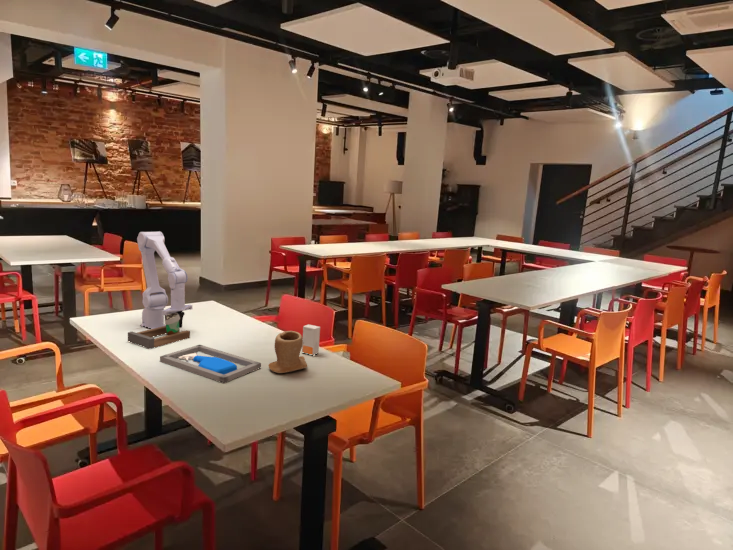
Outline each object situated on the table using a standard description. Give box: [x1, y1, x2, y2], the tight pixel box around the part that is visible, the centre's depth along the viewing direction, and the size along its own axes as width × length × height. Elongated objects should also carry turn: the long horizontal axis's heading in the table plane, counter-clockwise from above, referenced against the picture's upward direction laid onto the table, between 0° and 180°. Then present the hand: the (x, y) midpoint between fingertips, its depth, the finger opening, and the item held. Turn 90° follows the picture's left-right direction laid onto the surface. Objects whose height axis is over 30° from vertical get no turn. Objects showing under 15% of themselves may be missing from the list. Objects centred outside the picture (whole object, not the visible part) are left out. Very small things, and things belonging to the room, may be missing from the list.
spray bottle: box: [177, 352, 238, 375], centre depth 183 cm, size 3×11×24 cm
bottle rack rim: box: [159, 344, 262, 384], centre depth 184 cm, size 33×19×2 cm, turn 61°
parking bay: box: [136, 326, 191, 348], centre depth 209 cm, size 14×18×3 cm
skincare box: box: [301, 323, 321, 355], centre depth 204 cm, size 6×4×12 cm
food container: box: [164, 313, 181, 336], centre depth 212 cm, size 12×6×10 cm, turn 24°
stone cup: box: [268, 330, 309, 374], centre depth 184 cm, size 15×12×15 cm
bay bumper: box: [127, 331, 155, 349], centre depth 200 cm, size 14×2×4 cm, turn 61°
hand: (178, 327), depth 216 cm, fingers closed, pressing on food container
